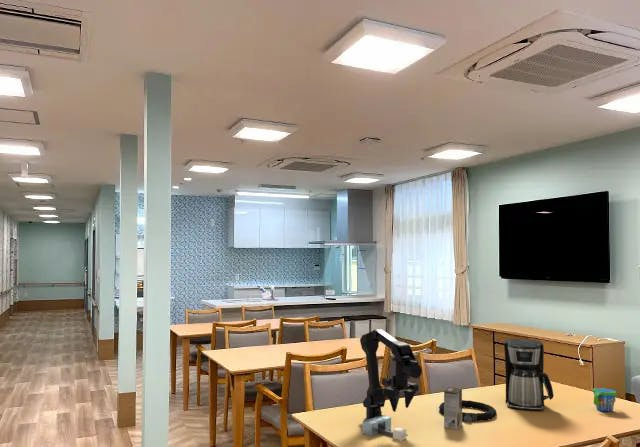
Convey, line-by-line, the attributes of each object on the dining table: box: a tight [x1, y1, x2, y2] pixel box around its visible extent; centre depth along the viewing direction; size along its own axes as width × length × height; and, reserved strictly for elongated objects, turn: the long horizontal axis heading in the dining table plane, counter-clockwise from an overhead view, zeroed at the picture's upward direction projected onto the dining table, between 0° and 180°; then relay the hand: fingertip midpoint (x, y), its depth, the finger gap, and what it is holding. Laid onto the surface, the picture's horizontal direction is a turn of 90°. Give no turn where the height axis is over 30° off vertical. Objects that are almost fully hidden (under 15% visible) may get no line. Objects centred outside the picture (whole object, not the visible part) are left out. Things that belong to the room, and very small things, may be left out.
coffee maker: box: [503, 338, 554, 411], centre depth 288 cm, size 23×32×34 cm
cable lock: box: [438, 399, 498, 423], centre depth 264 cm, size 28×4×30 cm
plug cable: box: [362, 419, 408, 441], centre depth 230 cm, size 22×4×4 cm, turn 47°
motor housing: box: [361, 414, 392, 437], centre depth 233 cm, size 5×14×5 cm, turn 137°
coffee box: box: [443, 386, 463, 430], centre depth 244 cm, size 9×6×16 cm
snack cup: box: [592, 387, 617, 413], centre depth 276 cm, size 16×10×10 cm
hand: (400, 409), depth 232 cm, fingers open, 9 cm apart
